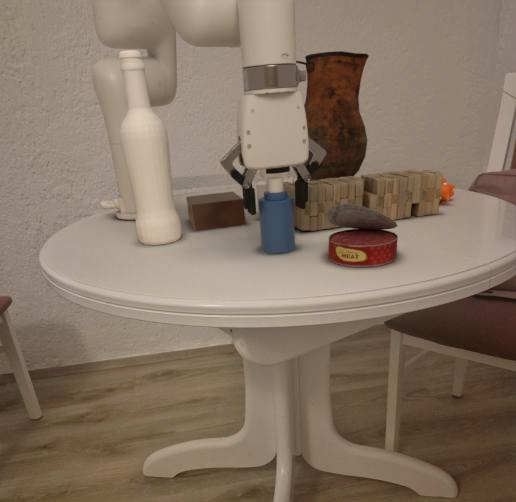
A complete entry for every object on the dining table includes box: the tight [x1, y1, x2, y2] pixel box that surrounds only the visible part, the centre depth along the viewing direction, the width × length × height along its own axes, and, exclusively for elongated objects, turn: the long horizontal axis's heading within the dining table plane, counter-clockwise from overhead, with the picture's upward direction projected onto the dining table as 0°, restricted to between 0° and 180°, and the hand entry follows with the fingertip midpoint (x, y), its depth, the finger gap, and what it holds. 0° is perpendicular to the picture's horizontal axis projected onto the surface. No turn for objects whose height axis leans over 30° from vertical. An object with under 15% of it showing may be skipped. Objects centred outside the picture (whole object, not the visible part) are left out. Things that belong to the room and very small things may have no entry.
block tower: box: [284, 168, 444, 232], centre depth 91 cm, size 8×8×29 cm
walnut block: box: [186, 191, 246, 232], centre depth 98 cm, size 10×10×5 cm
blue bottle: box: [258, 177, 296, 255], centre depth 76 cm, size 5×5×11 cm
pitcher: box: [296, 50, 370, 181], centre depth 111 cm, size 17×21×30 cm
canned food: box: [327, 203, 399, 268], centre depth 70 cm, size 11×10×10 cm
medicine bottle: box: [256, 166, 295, 220], centre depth 98 cm, size 7×7×12 cm
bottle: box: [118, 49, 182, 246], centre depth 82 cm, size 8×8×30 cm
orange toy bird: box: [440, 177, 456, 202], centre depth 102 cm, size 5×8×12 cm
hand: (276, 209), depth 75 cm, fingers open, 7 cm apart
